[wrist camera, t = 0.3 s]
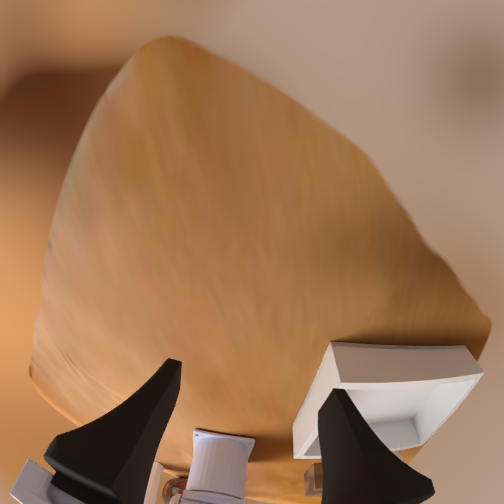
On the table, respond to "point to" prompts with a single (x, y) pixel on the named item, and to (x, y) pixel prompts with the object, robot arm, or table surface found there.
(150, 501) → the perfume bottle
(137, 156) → the table surface
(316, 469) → the walnut cube
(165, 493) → the tin
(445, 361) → the tote
